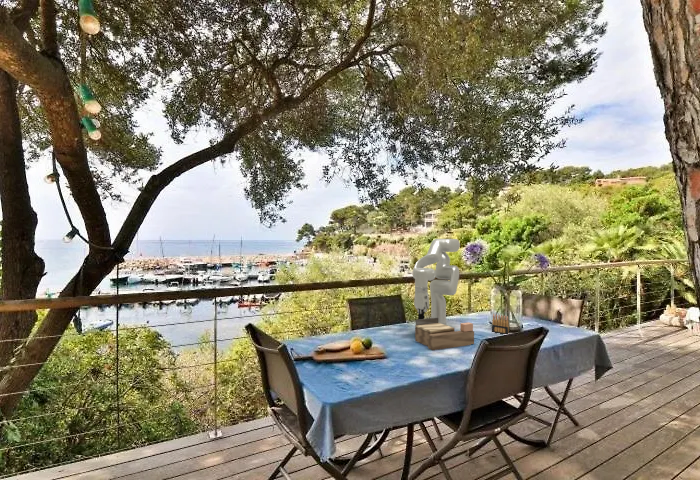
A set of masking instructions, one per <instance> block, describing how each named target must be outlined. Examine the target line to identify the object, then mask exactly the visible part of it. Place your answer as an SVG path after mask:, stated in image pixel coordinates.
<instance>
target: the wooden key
mask: <svg viewBox="0 0 700 480" xmlns="http://www.w3.org/2000/svg"><path fill="white" fill-rule="evenodd" d="M459 325H460V327H459V329H460V330H459V331H464V332H467V331H474V323H472V322H462V323H460V324H459Z"/></svg>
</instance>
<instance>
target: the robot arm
mask: <svg viewBox="0 0 700 480" xmlns="http://www.w3.org/2000/svg"><path fill="white" fill-rule="evenodd" d="M460 248H461V243H460V241H459V239H458V238H434V239H433V240H432V241H431V243H430V245H429V247H428V250H427V252H426V254H425V255H424V256H422V257H421V258H419V259H418V260H417V261H416V262H415V265H414V267H413V269H412V278H413V279H414V298H413V299H414V301H413V304H414V308H415V309H416V310H417V315H418V317H417V318H418V319H417V320H419V319H425V314H426V312H428V310H429V309H431V310H430V312H431V313H430V316H431V317H430V318H438V323H441V324H444V325H447V300H446V298H445V297H444V296H455V295H456V293H457V290H458V286H459V285H458V284H459V279H460V268H459V267H458V266H457V265H451V264H450V263H451V258H450V256H449V254H448V252H449V253H455V252H456V253H457V252H458V251H459V249H460ZM434 264H436V265H435V269H434V268H431V267H427V266H431V265H434ZM435 278H436V279H435ZM428 281H429V282H430V283H428ZM428 284H429V288H428ZM428 289H429V290H430V291H429V292H430V295H429V293H428ZM430 300H431V301H430ZM430 303H431V304H430ZM430 305H431V307H430ZM447 326H449V325H447Z"/></svg>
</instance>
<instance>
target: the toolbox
mask: <svg viewBox="0 0 700 480" xmlns="http://www.w3.org/2000/svg"><path fill="white" fill-rule="evenodd" d="M414 328H415V329H414V340H415V342H417V343H419V344H422V345H423V346H426V347H427V349H428V350H431V351H437V350H445V349H452V348H458V347H464V346H472V345H471V344H474V345H475V331H474V330H473V331H467V332H464V331H461V330H449V331H441V332H433V333H430V332H428V331H425V330H422V329H420V328H417V327H415V326H414Z"/></svg>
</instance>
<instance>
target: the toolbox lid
mask: <svg viewBox="0 0 700 480" xmlns="http://www.w3.org/2000/svg"><path fill="white" fill-rule="evenodd" d="M415 327H417V328H420V329H422V330H425V331H428V332H430V333H433V332H441V331H449V330H455V327H452V326H450V325H448V326H447V324H446V325H444V324H441V323H438V318H431V317H429V318H424V319H419V320H418V319H415V325H414V328H415ZM455 331H456V330H455Z"/></svg>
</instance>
